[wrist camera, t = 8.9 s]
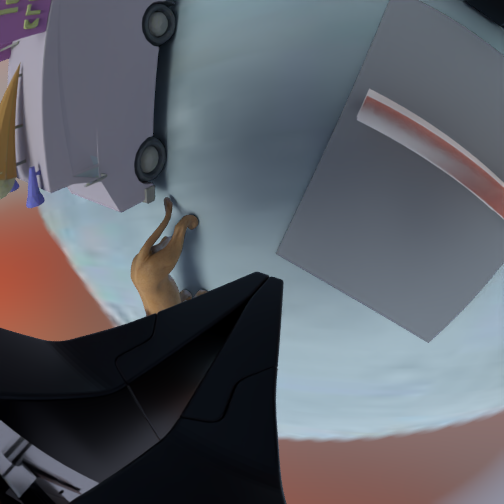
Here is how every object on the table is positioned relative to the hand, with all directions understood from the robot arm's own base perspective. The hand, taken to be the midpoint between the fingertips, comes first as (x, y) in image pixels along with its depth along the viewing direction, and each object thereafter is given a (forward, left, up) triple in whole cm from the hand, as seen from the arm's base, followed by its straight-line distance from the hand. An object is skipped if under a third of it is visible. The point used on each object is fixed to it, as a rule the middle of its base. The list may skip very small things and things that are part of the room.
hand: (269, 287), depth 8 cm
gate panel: (-6, +5, -11) cm, 13 cm away
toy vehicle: (-2, -18, -12) cm, 21 cm away
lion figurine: (+14, -8, -12) cm, 20 cm away
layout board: (-4, +6, -11) cm, 13 cm away
